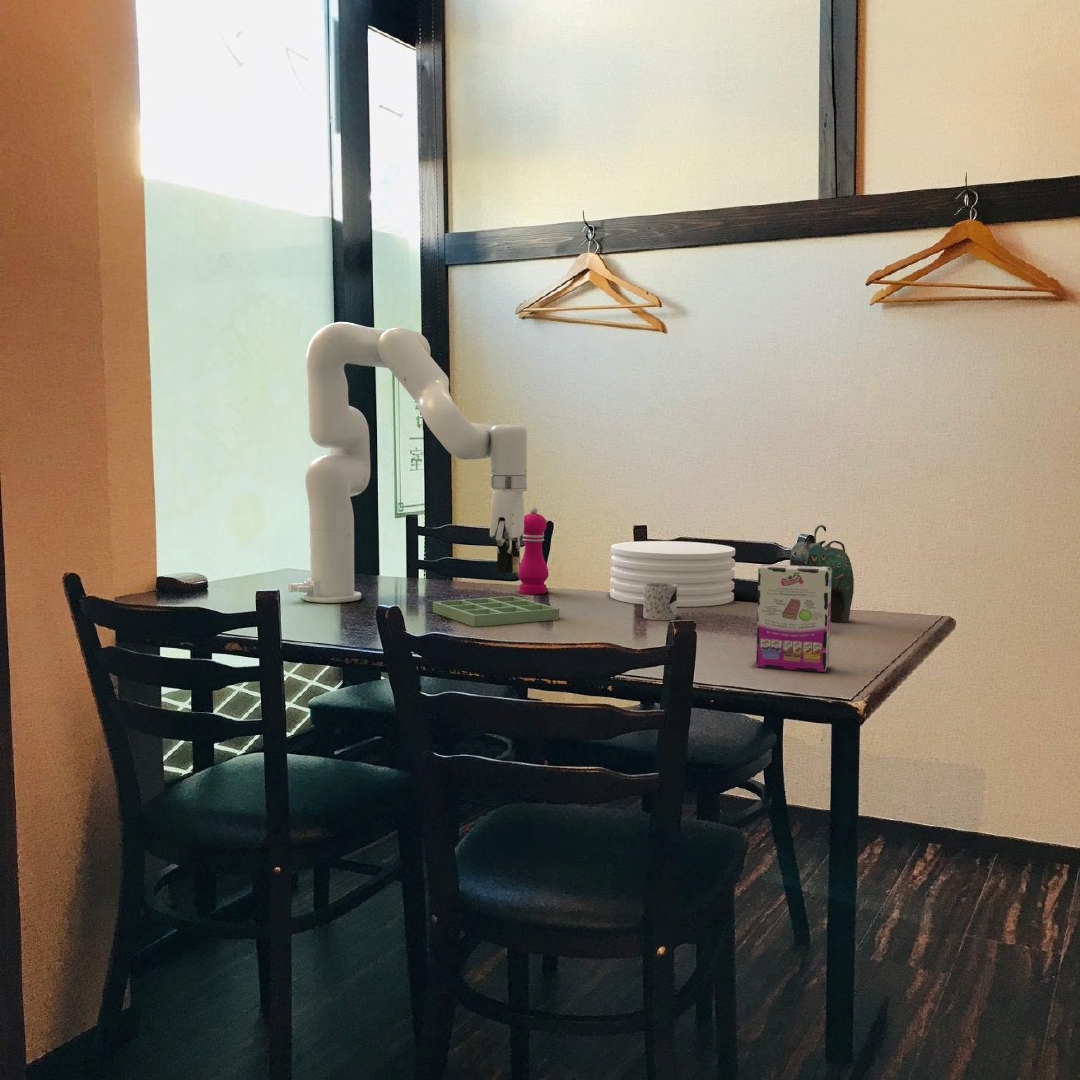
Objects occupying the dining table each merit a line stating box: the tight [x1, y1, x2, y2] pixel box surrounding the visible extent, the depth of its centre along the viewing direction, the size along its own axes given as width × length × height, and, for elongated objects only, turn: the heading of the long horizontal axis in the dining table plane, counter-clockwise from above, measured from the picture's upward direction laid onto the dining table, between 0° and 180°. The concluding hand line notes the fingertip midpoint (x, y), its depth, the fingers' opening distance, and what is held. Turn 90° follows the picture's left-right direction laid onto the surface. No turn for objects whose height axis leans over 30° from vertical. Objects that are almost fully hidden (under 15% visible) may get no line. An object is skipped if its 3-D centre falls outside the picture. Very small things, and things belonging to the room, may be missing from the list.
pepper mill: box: [517, 506, 549, 595], centre depth 258 cm, size 7×7×20 cm
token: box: [511, 557, 519, 574], centre depth 233 cm, size 4×4×3 cm
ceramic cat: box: [789, 524, 855, 623], centre depth 218 cm, size 20×6×20 cm, turn 137°
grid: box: [432, 595, 560, 628], centre depth 226 cm, size 19×19×2 cm
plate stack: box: [609, 540, 736, 608], centre depth 253 cm, size 28×28×12 cm
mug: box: [642, 583, 677, 621], centre depth 227 cm, size 10×7×7 cm, turn 177°
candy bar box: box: [755, 564, 832, 673], centre depth 179 cm, size 11×5×16 cm, turn 69°
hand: (508, 570), depth 233 cm, fingers closed on token, 4 cm apart
